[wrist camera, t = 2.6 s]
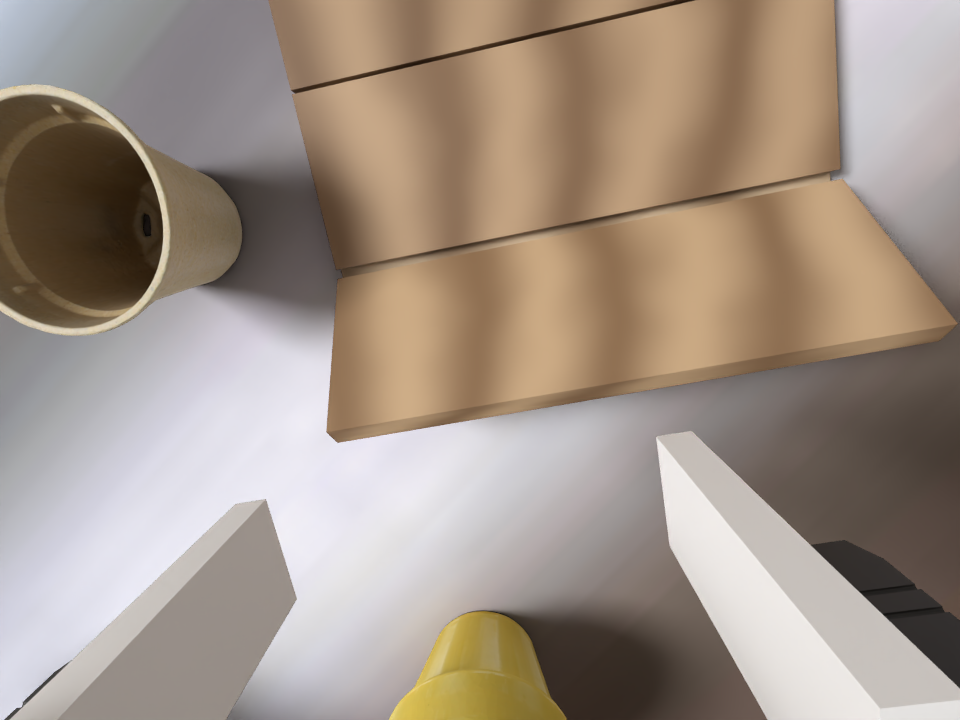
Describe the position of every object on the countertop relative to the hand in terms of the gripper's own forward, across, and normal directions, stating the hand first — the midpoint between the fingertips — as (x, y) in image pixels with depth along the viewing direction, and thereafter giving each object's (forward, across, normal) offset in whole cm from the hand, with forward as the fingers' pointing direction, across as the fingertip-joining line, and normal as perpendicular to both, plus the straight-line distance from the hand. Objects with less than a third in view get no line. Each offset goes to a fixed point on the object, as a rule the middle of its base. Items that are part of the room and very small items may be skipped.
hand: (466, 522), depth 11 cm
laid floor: (+17, -6, -15) cm, 24 cm away
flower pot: (+18, +15, -10) cm, 25 cm away
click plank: (+14, -6, -2) cm, 15 cm away
